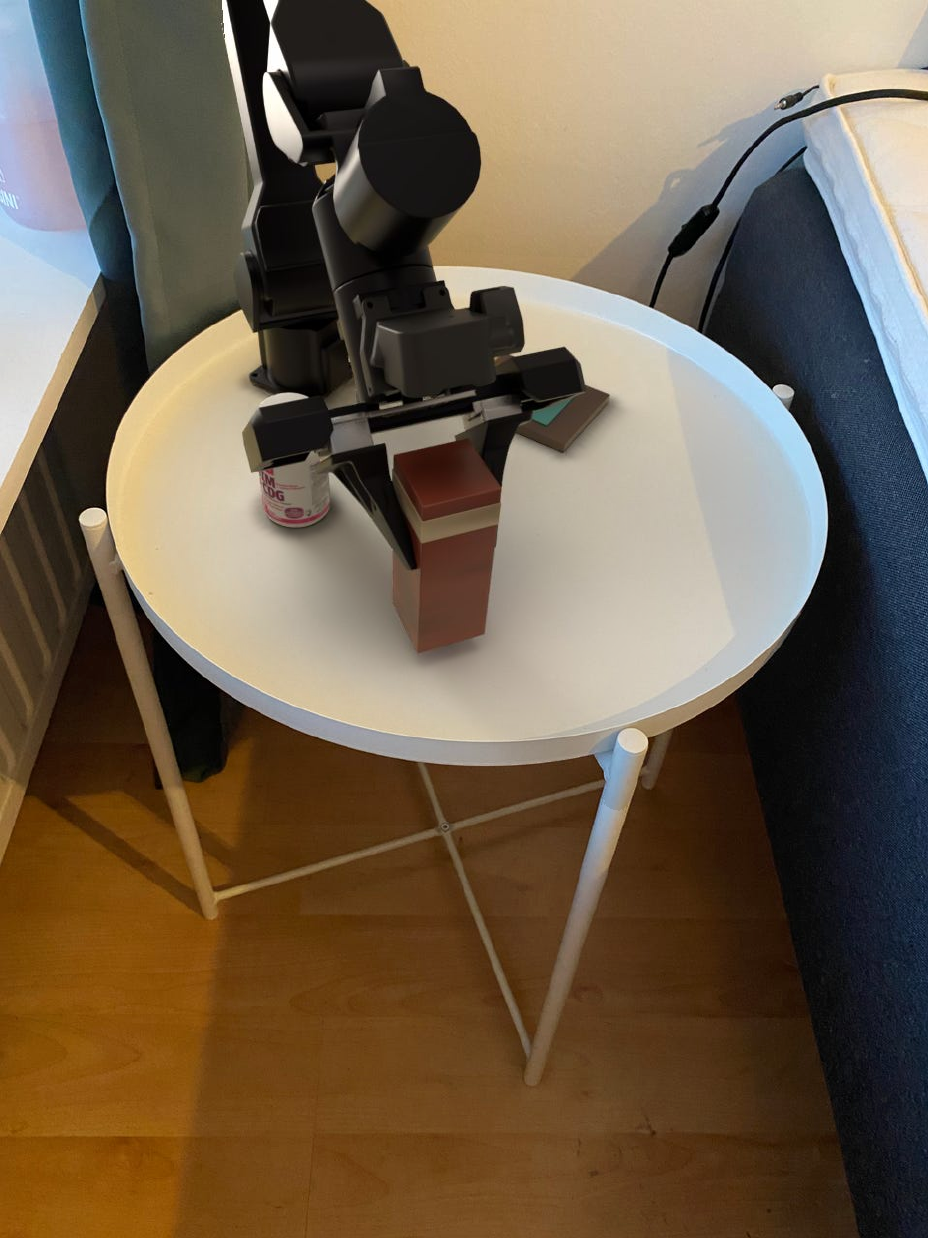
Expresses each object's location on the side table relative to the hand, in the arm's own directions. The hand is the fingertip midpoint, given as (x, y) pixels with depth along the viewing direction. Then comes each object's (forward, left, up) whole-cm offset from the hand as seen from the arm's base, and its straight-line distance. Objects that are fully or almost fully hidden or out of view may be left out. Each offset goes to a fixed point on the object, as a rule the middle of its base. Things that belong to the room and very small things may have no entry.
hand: (451, 559), depth 55 cm
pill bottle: (-16, +5, -8) cm, 19 cm away
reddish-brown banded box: (-1, +1, -7) cm, 7 cm away
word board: (-12, +26, -8) cm, 30 cm away
